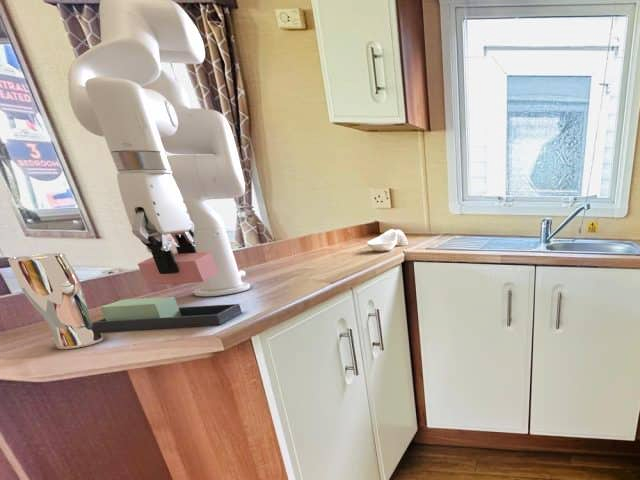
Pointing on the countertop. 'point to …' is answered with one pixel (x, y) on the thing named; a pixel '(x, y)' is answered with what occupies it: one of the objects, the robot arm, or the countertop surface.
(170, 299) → the pad sage
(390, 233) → the spoon rest
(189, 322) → the frame
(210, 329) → the countertop surface
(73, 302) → the chrome vase
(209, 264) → the pad rose
